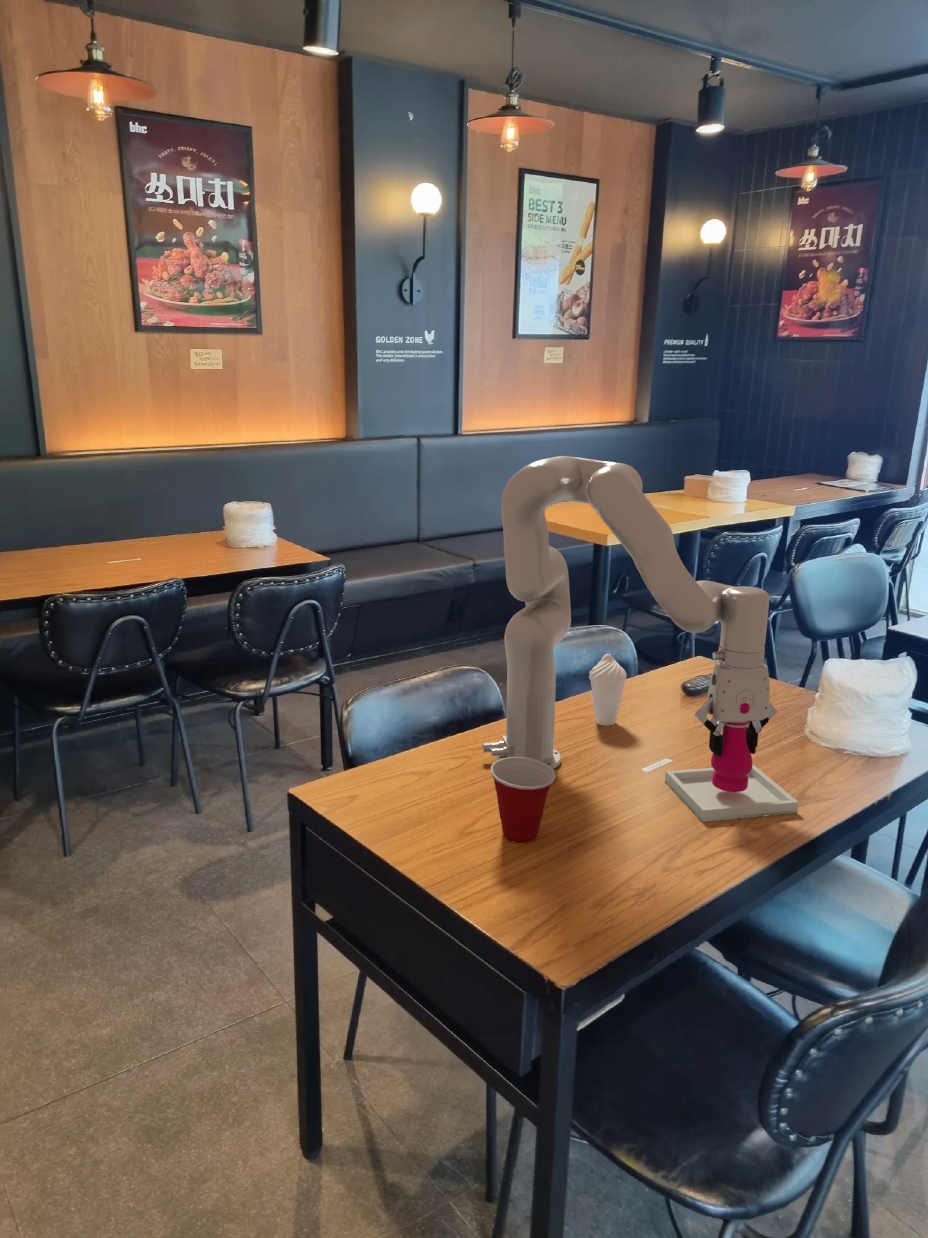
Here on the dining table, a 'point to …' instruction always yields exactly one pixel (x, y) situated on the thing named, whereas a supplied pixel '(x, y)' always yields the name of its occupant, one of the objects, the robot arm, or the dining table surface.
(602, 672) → the soft serve ice cream cone
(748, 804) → the tray
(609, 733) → the dining table surface
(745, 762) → the pepper mill
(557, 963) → the dining table surface
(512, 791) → the plastic cup
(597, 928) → the dining table surface
